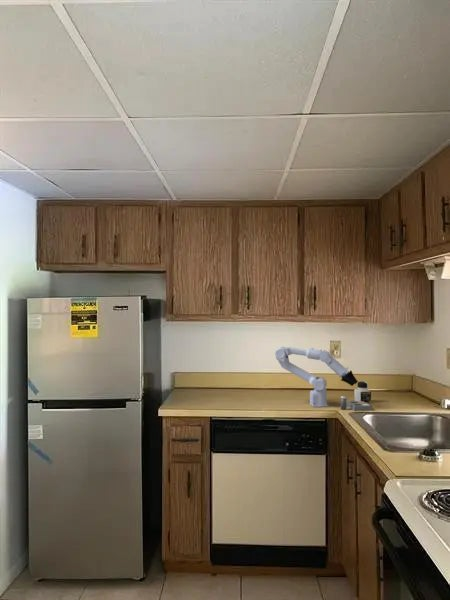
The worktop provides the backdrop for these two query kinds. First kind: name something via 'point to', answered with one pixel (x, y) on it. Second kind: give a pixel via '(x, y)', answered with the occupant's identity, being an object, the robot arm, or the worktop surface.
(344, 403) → the plug
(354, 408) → the socket block
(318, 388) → the robot arm
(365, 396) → the medicine bottle
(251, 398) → the worktop surface
